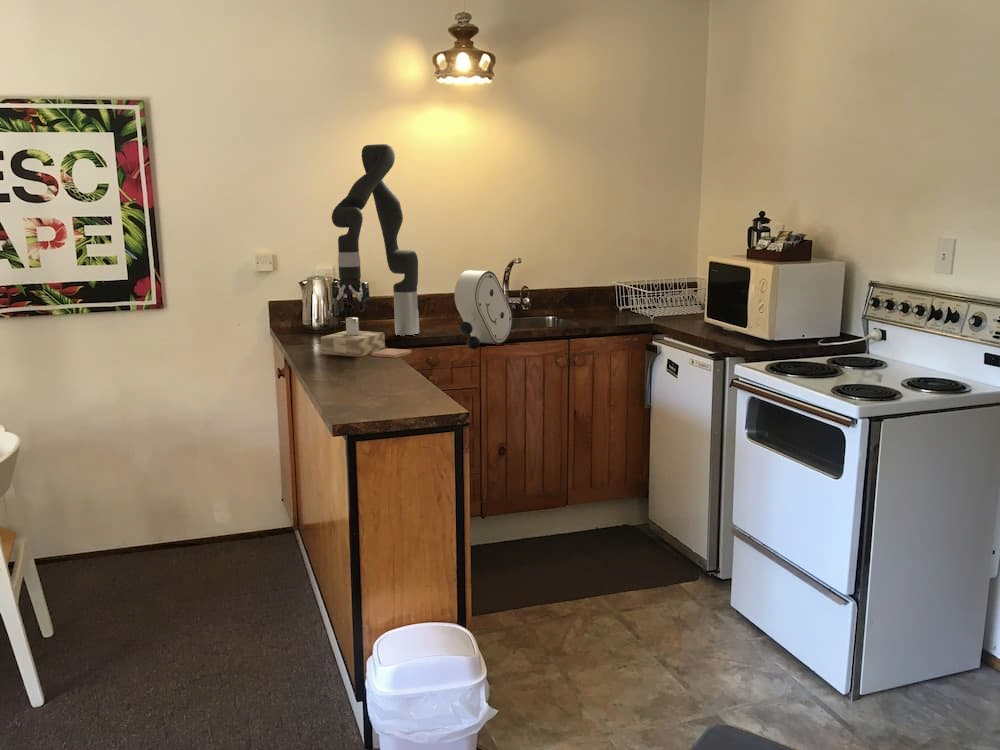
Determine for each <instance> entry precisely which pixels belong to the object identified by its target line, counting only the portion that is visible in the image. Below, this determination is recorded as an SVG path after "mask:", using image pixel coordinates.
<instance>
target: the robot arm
mask: <svg viewBox="0 0 1000 750" xmlns="http://www.w3.org/2000/svg"><path fill="white" fill-rule="evenodd" d="M395 160H396V153H395V150H394V149H393V146H391V145H390V144H386V143H384V144H383V143H381V144H380V143H379V144H367V145H364V146H363V147H362V150H361V162H362V165H363V169H364V171H365V174H364V175H362V176H361V177H360V178H358V179H357V180H356V181H355V182H354V183H353V184H352V186H351V188H350V189H349V191H348V193H347V196H345V198H343V199H342V200H341V201H340V202H339V203H338V204H336V206H335V207H334V208H333V211H332V214H331V221H332V224H333V225H334V226H335V227H337V228H341V229H342V228H345V229H346V228H347V229H348V230H347V233H346V234H342V235H339V236H338V239H337V244H338V246H337V247H338V256H337V264H338V278H339V281H338V280H336V281H332V282H331V285H332V286H331V288H332V289H331V298H332V299H334V300H337V310H338V311H339V312H343V311H345V300H344V298H345V297H346V296H347V295H353V296H354V297H356V298H357V300H358V312H359V313H362V312H363V313H364V311H365V309H366V301H368V300H370V298H371V297H370V287H369V286H370V285H369V282H368V281H365V282H362V281H361V279H362V277H361V275H362V273H361V272H362V271H361V258H360V257H361V256H360V249H359V247H360V246H359V242H360V241H359V239H360V236H361V235H360V234H361V228H362V225H363V219H364V217H363V213H362V210H363V209H364V208H365V207H366V205H367V203H368V201H369V199H370V198H371V195H372V196H373V201H374V205H375V209H376V214H377V218H378V221H379V225H380V229H381V233H382V237H383V243H384V248H385V254H386V255H385V256H386V260H387V261H386V263H387V266H388V268H389V271H390V272H391V273H393V274H396V275H397V274H399V275H404V277H403V279H402V280H400V281H399V282H396V283H394V284H393V290H392V292H393V309H394V311H393V313H394V314H393V315H394V333H395V334H396V335H395V336H397V335H400V336H399V337H406V336H405V335H413V336H415V335H414V334H418V333H419V334H420V315H419V313H420V312H419V308H418V306H419V305H418V283H419V259H418V254H417V253H416V252H415V251H414V250H411V249H408V250H407V249H400V248H399V246H398V245H399V244H398V234H399V231H400V229H401V227H402V223H403V219H404V215H403V211H402V207H401V203H400V199H399V198H398V197H397V195H396V194H395V193H394V192H393V190H392V189H391V188H390V187H389V185H388V184H387V183H386V182H385V180H384V178H385V176H386V175H388V173H389V172H390V170H391V169H392V168H393V166H394V165H395ZM340 288H341V289H340ZM419 334H418V335H419Z"/></svg>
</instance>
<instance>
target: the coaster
mask: <svg viewBox="0 0 1000 750" xmlns="http://www.w3.org/2000/svg"><path fill="white" fill-rule="evenodd" d="M409 354H412V349H403V348H401V349H400V348H391V347H390V348H385V349H383V350H380V351H377V352H373V353H370V355H371V357H383V358H395V359H397V358H400V357H403V356H407V355H409Z"/></svg>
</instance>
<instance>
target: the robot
mask: <svg viewBox="0 0 1000 750" xmlns="http://www.w3.org/2000/svg"><path fill="white" fill-rule="evenodd" d="M454 303H455V307H456V309H457V312H458V313H459V315H460V317H461V319H462V322H461V323H460V324H459V326H458V329H459V332H460V333H461V334H463V335H464V336H467V335H469V337H468V338H466V339H467V340H466V346H467V347H468V348H470V349H471V350H475V349H478V348H479V347H480V345H481V344H487V345H488V344H489V345H502V344H504V343H505V342H506V341H507V340H508V338H509V336H510V334H511V331H512V327H513V311H512V309H511V305H510V303H509V301H508V299H507V297H506V295H505V292H504V290H503V288H502V286H501V283H500V280H499V279H498V277H497V276H496V274H495V273H494V272H493V271H490V270H473V269H469V270H464V271H463V272H461V274H460V276H459V277H458V279H457V281H456V283H455V287H454Z"/></svg>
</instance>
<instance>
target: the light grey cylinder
mask: <svg viewBox="0 0 1000 750" xmlns="http://www.w3.org/2000/svg"><path fill="white" fill-rule="evenodd" d="M359 325H360V323H359V317H358V316H356V317H355V316H353V317H352V316H350V317H346V318H345V329H346V330H345V331H346V334H347V336H358V335H359V331H360V327H359Z"/></svg>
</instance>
